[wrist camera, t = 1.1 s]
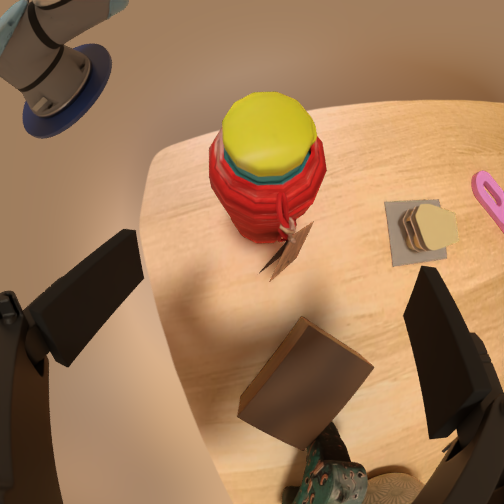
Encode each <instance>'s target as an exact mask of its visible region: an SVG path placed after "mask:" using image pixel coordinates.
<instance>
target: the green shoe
mask: <svg viewBox="0 0 504 504" xmlns="http://www.w3.org/2000/svg"><path fill="white" fill-rule="evenodd" d="M306 461H307V463H306V468H305V472H304V476H303V480H302V484H301V487H294V486H289V487H286V488H285V489H284V491H283V494H282V504H362V503H363V500H364V498H365V495H366V492H367V487H368V478H367V474H366V470H365V469H364V467H363V466H362V465H361V464H359V463H355V462H351V460H350V457H349V454H348V451H347V448H346V446H345V444H344V442H343V441H342V440H341V438H340V435H339V433H338V430H337V428H336V427H335V425H334V423H333V422H330V423H329V424H328V426H327V427H326V428H325V429H324V430H323V431H322V432H321V433H320V434H319V435H318V436H317V437H316V439H315V440H314V441H313V442H312V443H311V444H310V445H309V446H308V447H307V457H306Z"/></svg>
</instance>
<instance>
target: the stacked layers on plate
mask: <svg viewBox="0 0 504 504" xmlns="http://www.w3.org/2000/svg"><path fill="white" fill-rule="evenodd" d="M384 203H385V209H386V215H387V222H388V229H389V237H390V245H391V254H392V264H393V267H394V266H401V265H408V264H415V263H422V262H428V261H435V260H441V259H447V252H446V246H449V245H452V244H455V243H458V242H459V235H458V227H457V220H456V214H455V212H452V211H449V210H446V209H443V208H440V202H439V200H414V201H394V202H384Z"/></svg>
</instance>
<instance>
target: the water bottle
mask: <svg viewBox="0 0 504 504" xmlns="http://www.w3.org/2000/svg"><path fill="white" fill-rule="evenodd" d="M326 171H327V169H326V162H325V156H324V150H323V144H322V141H321V140H320V139H319V138H318V137H317V133H316V126H315V124H314V122H313V120H312V118H311V116H310V115H309V114H308V113H307V112H306V110H305V109H304V108H303V107H302V106H301V104H300V103H299V102H298V101H297V100H295V99H293V98H290V97H288V96H286V95H283V94H281V93H278V92H254V93H252V94H250V95H248V96H246V97H244V98H242V99H240V100H238V101H236V102H235V103H234V104H233V105H232V107H231V108H230V110H229V111H228V113H227V114H226V116H225V118H224V119H223V121H222V128H221V130H220V131H219V133H218V134H217V136H216V138H215V139H214V141H213V143H212V144H211V146H210V148H209V178H210V183H211V188H212V189H213V191H214V192H215V194H216V196H217V197H218V199H219V200H220V202H221V204H222V205H223V207H224V208H225V210H226V211H227V213H228V214H229V216H230V217H231V220H232V222H233V223H234V225H235V226H236V228H237V229H238V231H239V232H240V234H241V235H242V236H243V237H245V238H247V239H249V240H251V241H253V242H255V243H274V242H276V241H277V240H278V242H283V241H286V242H285V244H284V245H283V246H282V247H281V248H280V249H279V251H278V252H277V253H276V254H275V255H274V256H273V257H272V259H271V260H270V261H269V262H268V263H267V264H266V266H265V267H264V268H263V269H262V270H261V271H260V272H262V271H263V270H264V269H265V268H267V267H268V266H269V265H271V264H272V263H273V262H275V261H276V260H277V259H278V258H280V257H281V258H280V260H279V262H278V265H277V267H276V269H275V271H274V273H273V275H272V277H271V279H270V281H271V280H272V279H274V278H275V277H276V276H277V275H278V274H279V273H280V272H281V271H283V270H284V269H285V268H286V267H287V266H288V265H289V264H290V263H291V262H292V261H294V260H295V259H296V258H297V256H298V254H299V251H300V249H301V247H302V245H303V243H304V241H305V239H306V237H307V235H308V233H309V231H310V229H311V227H312V224H313V222H314V221H313V222H312V223H310V224H309V225H307V226H306V227H304V228H303V229H301V230H300V231H298V232H297V233H295V229H296V222H295V221H296V219H297V218H299V217H300V216H302V215H303V214H304V213H305V212H306V211H307V209H308V208H309V207H310V205H312V204H313V202H314V200H315V197H316V195H317V192H318V190H319V188H320V185H321V183H322V181H323V178H324V175H325V173H326ZM294 233H295V234H294ZM281 238H283V239H281ZM260 272H259V273H260ZM270 281H269V282H270Z"/></svg>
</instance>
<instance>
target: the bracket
mask: <svg viewBox="0 0 504 504" xmlns="http://www.w3.org/2000/svg"><path fill="white" fill-rule="evenodd" d="M484 186H485V187H486V188H487V190H488V191H489V192H490V193H491V194H492V196H493V197H494V198H495V200H496V202H497V204H496V203H495V202H494V200H493V199H492V198H491V197H490V195H489V194H488V193H487V192H486V190H485V189H484ZM472 190H473V193H474V195H475V197H476V199H477V200H478V201H479V202H480V203H481V205H482V206H483V207H484V208H485V209H486V211H487V212H488V213H489V214H490V216H491V217H492V218H493V220H494V221H495V222H496V223H497V225H498V226H499V227H500V229H501V230H502V231H503V233H504V192H503V190H502V189H501V188H500V186H499V185H498V184H497V183H496V181H495V180H494V179H493V178H492V176H491V175H490V174H489V173H488V172H486V171H480V172H478V173H476V174H474V175H473V177H472Z"/></svg>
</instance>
